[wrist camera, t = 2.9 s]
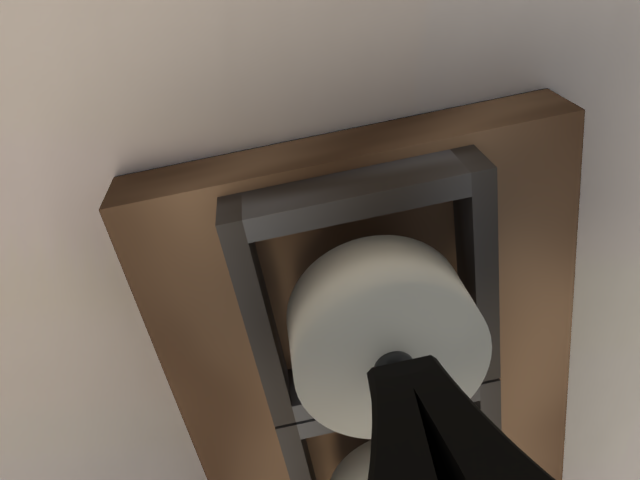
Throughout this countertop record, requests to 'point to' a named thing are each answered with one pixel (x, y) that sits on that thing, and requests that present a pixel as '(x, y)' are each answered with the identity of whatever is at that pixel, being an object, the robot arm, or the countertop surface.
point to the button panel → (343, 226)
